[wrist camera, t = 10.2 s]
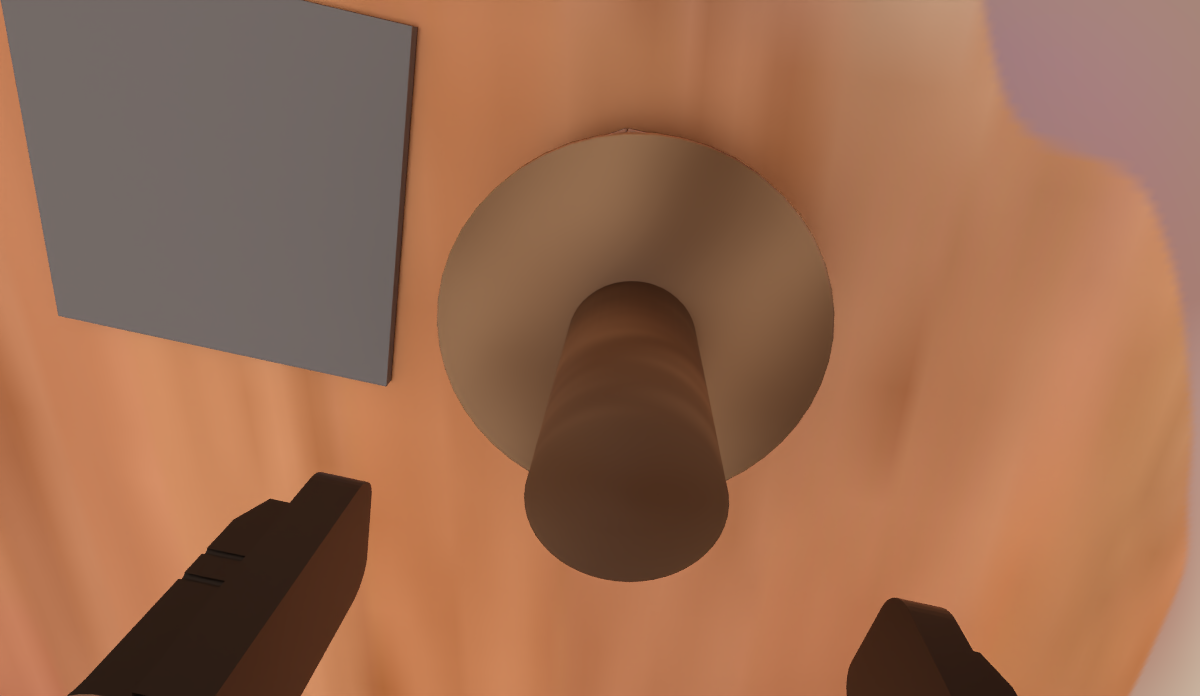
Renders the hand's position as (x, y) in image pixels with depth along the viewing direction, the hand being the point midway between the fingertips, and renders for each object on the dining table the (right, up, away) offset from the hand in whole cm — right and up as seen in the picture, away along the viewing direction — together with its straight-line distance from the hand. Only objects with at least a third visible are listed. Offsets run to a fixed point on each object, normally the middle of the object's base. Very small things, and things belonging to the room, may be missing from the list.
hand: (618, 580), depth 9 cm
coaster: (-14, +9, +12) cm, 21 cm away
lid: (+1, +4, +8) cm, 9 cm away
